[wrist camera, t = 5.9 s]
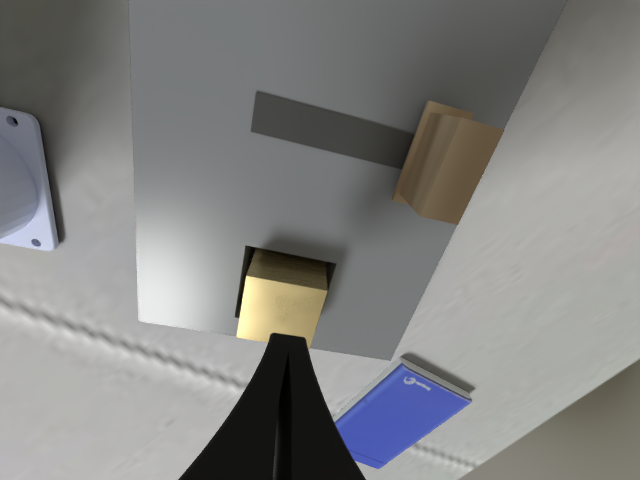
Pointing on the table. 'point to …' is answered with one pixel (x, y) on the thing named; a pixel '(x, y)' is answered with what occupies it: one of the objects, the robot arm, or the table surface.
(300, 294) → the brass button
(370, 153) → the panel
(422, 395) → the hard drive
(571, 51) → the table surface
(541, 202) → the table surface
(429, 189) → the tan wooden block
